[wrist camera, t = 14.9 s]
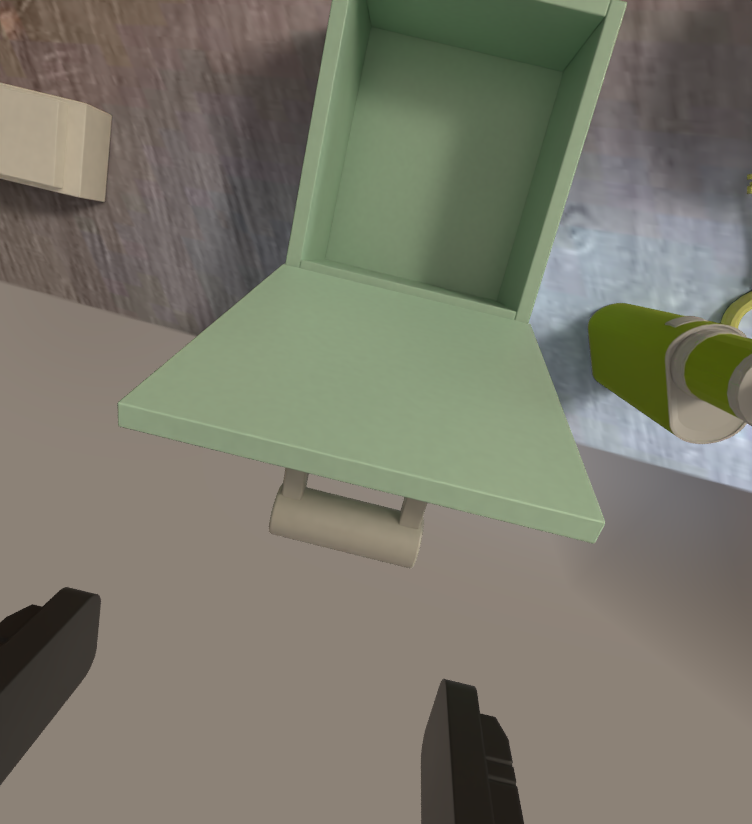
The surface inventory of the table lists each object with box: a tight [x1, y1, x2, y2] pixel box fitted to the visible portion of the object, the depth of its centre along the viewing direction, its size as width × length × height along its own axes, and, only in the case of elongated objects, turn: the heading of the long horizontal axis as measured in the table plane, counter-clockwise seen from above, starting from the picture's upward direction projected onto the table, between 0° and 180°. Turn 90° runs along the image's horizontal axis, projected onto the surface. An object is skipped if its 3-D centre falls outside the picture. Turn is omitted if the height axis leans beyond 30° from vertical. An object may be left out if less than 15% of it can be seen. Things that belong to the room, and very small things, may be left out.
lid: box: [118, 264, 605, 568], centre depth 23 cm, size 16×14×5 cm
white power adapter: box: [0, 83, 112, 202], centre depth 35 cm, size 10×6×4 cm, turn 77°
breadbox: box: [285, 0, 627, 323], centre depth 32 cm, size 16×14×9 cm
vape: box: [588, 303, 752, 444], centre depth 29 cm, size 4×6×20 cm, turn 11°
